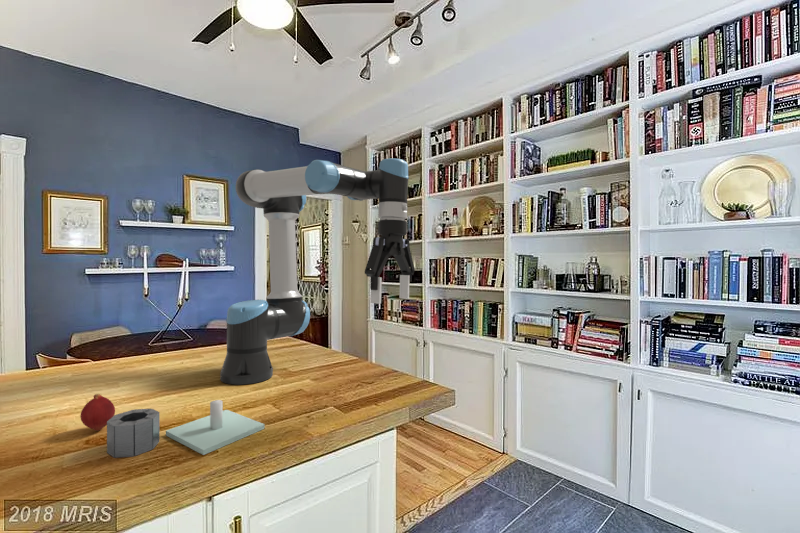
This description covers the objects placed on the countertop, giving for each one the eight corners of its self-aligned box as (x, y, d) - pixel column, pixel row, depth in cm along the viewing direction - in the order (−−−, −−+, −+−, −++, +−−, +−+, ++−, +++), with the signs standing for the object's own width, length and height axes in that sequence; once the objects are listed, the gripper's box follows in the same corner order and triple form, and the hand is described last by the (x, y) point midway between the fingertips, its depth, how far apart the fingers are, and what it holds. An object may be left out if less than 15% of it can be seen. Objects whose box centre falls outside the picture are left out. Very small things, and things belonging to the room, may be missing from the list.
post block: (165, 435, 83) (165, 404, 83) (226, 413, 95) (226, 386, 94) (203, 455, 75) (203, 421, 75) (264, 428, 87) (264, 399, 87)
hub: (101, 449, 77) (101, 418, 77) (146, 433, 83) (146, 405, 83) (120, 461, 72) (119, 429, 72) (165, 444, 79) (165, 414, 79)
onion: (93, 424, 87) (93, 388, 87) (120, 424, 88) (120, 388, 88) (74, 436, 82) (73, 398, 81) (103, 436, 82) (103, 398, 82)
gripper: (376, 215, 91) (374, 307, 91) (427, 223, 112) (425, 297, 112) (351, 215, 94) (349, 304, 95) (405, 223, 116) (403, 295, 116)
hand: (390, 300), depth 104 cm, fingers open, 13 cm apart
